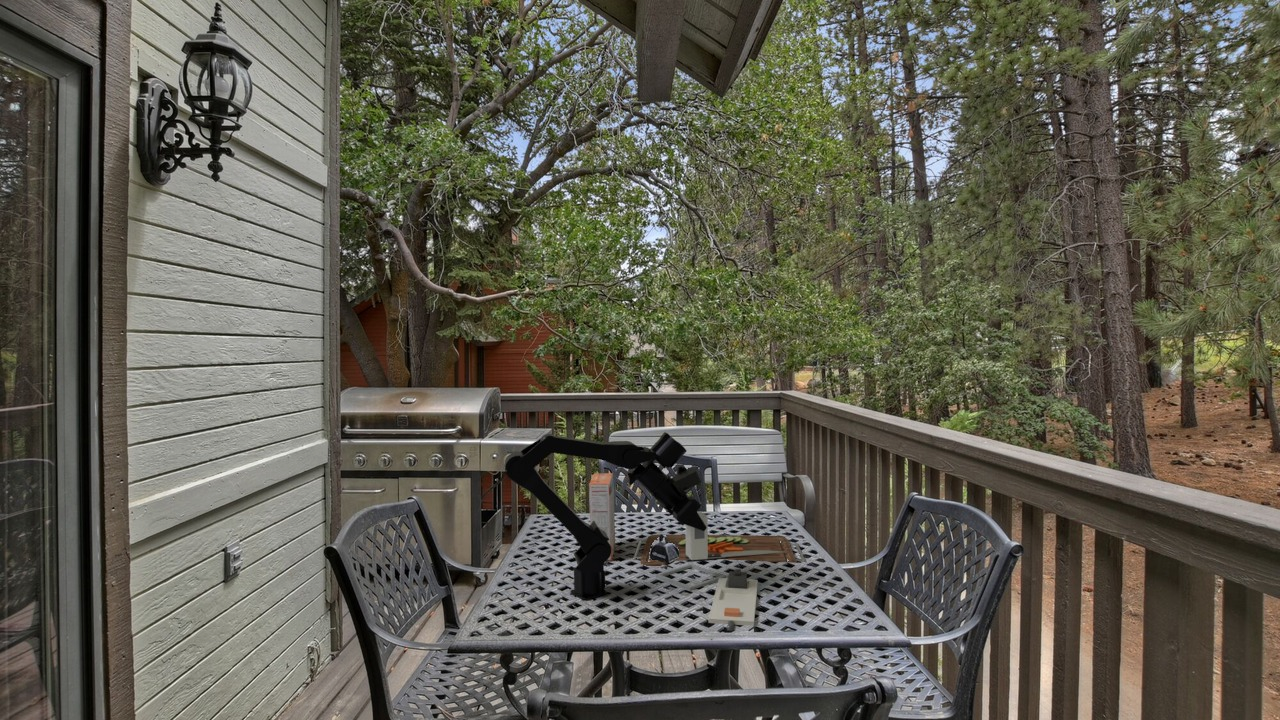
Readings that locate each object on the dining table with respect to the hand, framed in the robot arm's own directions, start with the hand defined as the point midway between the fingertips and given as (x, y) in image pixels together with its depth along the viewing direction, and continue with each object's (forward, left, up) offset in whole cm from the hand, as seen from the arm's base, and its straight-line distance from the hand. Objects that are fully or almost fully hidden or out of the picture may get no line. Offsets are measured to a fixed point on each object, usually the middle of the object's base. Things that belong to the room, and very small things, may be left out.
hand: (701, 526), depth 160 cm
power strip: (-6, -16, -13) cm, 21 cm away
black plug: (+2, -9, -13) cm, 16 cm away
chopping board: (+20, +14, -14) cm, 28 cm away
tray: (-1, +3, -13) cm, 14 cm away
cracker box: (-4, +34, -14) cm, 37 cm away
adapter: (-1, +1, -7) cm, 7 cm away
